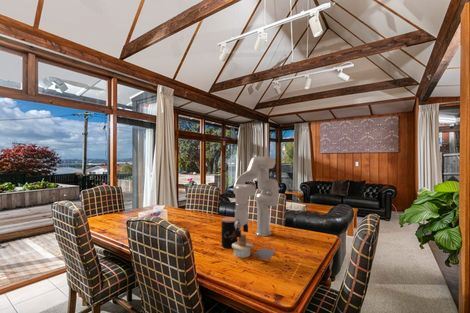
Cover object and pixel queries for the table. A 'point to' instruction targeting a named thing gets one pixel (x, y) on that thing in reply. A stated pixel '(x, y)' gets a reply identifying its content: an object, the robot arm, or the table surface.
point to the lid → (242, 244)
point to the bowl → (241, 253)
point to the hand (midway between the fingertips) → (242, 234)
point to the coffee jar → (228, 232)
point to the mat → (264, 253)
